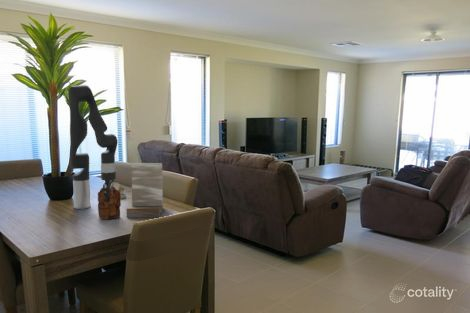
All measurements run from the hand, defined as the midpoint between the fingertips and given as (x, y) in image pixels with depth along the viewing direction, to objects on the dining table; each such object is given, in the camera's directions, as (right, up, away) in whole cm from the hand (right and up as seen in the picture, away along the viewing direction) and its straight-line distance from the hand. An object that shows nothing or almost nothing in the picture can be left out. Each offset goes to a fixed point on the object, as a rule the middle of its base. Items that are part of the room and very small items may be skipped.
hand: (109, 200), depth 199 cm
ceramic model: (-11, -4, +49) cm, 50 cm away
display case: (+17, -9, +13) cm, 23 cm away
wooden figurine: (0, -10, +1) cm, 10 cm away
